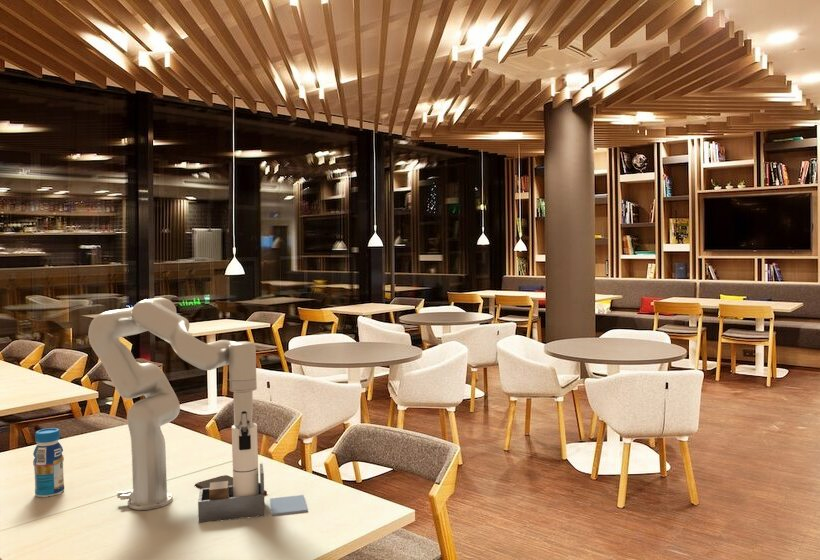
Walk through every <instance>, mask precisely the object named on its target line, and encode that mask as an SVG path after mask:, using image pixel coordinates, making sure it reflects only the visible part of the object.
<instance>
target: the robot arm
mask: <svg viewBox="0 0 820 560" xmlns="http://www.w3.org/2000/svg"><path fill="white" fill-rule="evenodd" d="M189 329H190V322H189V320H188V319H187V318H186V317H184V316H182V315H180V314H178V313H177V308H176V305H175V304H174V302H173V301H172V300H170V299H168V298H166V297H165V298H164V297H156V298H148V299H147V298H145V299H143V300H140V301H138V302H136V304H134V305H133V307H127V308H126V307H125V308H121V309H119V308H118V309H112V310H106V311H103V312H101V313H99V314H97V315H96V316H95V317H93V319H92V320H91V322H90V324H89V326H88V331H87V332H88V333H87V334H88V341H89V344H90V346H91V348H92V350H93V351H94V353H95V355H96V356H97V358H98V359H99V361H100V363H101V364H102V366H103V367H104V369H105V371H106V373H107V375H108V377H109V379H110V380H111V382H112V383H111V384H113V386H114V388H115V390H116V392H117V393H118V395H119V396H120V397H122V398H123V399H126V400H130V399H135V398H138V397H141V396H144V397H145V398H142V399H140V400H138V401H136V402H135V403H133V404H132V405H131V406H130V407H129V409H128V410H127V414H126V422H127V427H128V431H129V437H130V445H131V446H130V449H131V470H132V471H131V472H132V489H130V488H129V489H128V490H126V491H125V490H121V491H120V490H119V491H117V494H116V495H117V499H120V500H121V501H122V500H127V507H128V508H129V509H130V510H131V509H132V510H137V511H147V510H155V509H158V508H162V507H165V506H167V505H169V504H170V503H171V502H172V501H173V499H174V498H173V494H172V493H171V492H168V489H167V487H168V483H167V455H166V454H167V453H166V451H167V450H166V440H165V436H164V434H163V432H162V429H161V426H162V427H163V425H166V424H169V423H171V422H172V421H174V420H176V418H177V417H178V416H179V414H180V411H181V410H180V409H181V404H180V401H179V399H178V396H177V394H176V393H175V391H174V389H173V387H172V386H171V384H170V382H169V380H168V377H167V375H165V374H166V373H164V371H163V370H162V369H161V368H160V367H159V366H158V365H156V364H154V363H151V362H143V363H138V362H137V360H136V359H135V357H134V355H133V353H132V351H131V350H130V349H129V347H127V346H126V345H125V344H124V343H123V342H121V341H120V338H124V337H128V336H134V335H138V334H141V333H145V332H149V333H151V334H153V335H154V336H156V337H158V338H160V339H161V340H164V341H165V342H167V343H168V344H170V346H171V349H172V350H173V351H174V352H175V354H176V355H177V356H178V357H179V358H180V359H181V360H183V361H184V362H186V363H187V364H189V365H192V366H194V367H195V368H198V369H200V370H203V371H211V370H215V369H217V368H221V367H225V366H228V368H229V371H228V373H229V392H231V393H233V425H234V426H235V427H237V426H239V427H240V436H239V450H248V449H251V435H250V431H249V426H250V425H251V424H252V423H253V411H254V409H253V408H254V406H253V405H254V403H253V401H254V400H253V398H254V397H253V395H254V394H253V391H256V390H257V389H258V387H257V355H256V354H257V352H256V351H257V349H256V348H257V347H256V345H255V343H254V342H253V341H247V340H245V341H234V340H228V339H220V340H217V341H212V342H208V343H206V342H205V341H202V340H200V339H198V338H197V337H195V336H193V335H192V334H190V332H189ZM241 423H242V425H241ZM247 423H248V424H247ZM249 424H250V425H249ZM247 427H248V428H247ZM241 428H242V429H241Z"/></svg>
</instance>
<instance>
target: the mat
mask: <svg viewBox="0 0 820 560" xmlns="http://www.w3.org/2000/svg"><path fill="white" fill-rule="evenodd" d="M269 502H270V510H271V516H273V515H275V516H281V515H282V514H283V515H289V514H290V513H292V514H298V513H299V512H301V513H307V512H308V507H307V503H306V500H305V495H304V494H299V495H289V496H283V497H282V496H281V497H272V498H269ZM299 514H300V513H299ZM283 515H282V516H283Z"/></svg>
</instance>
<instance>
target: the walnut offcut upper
mask: <svg viewBox="0 0 820 560" xmlns="http://www.w3.org/2000/svg"><path fill="white" fill-rule="evenodd" d="M228 495H229V492H228V481H222V482H212V483H210V488H209V499H210V500H212V499H221V498H228Z"/></svg>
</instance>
